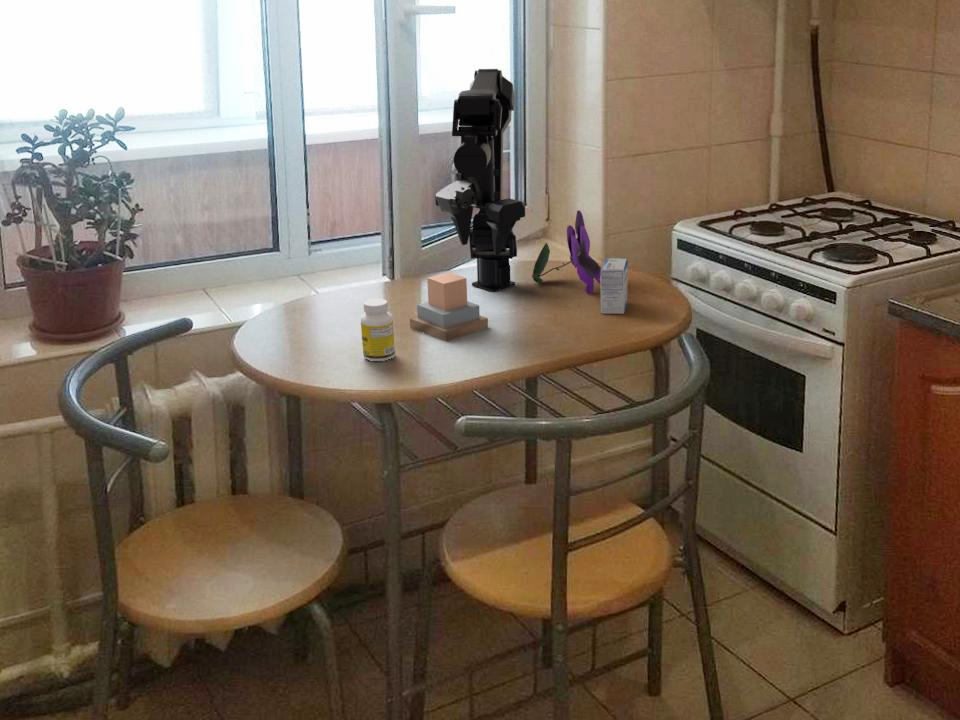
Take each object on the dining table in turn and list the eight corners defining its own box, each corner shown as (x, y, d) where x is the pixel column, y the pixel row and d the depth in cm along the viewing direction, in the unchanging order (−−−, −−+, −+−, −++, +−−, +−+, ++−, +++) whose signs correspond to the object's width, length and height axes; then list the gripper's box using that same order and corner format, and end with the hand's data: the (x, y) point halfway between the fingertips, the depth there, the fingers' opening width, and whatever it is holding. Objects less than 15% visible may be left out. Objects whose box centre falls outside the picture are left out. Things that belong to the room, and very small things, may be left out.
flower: (539, 319, 221) (598, 293, 215) (504, 253, 218) (563, 224, 213) (557, 297, 234) (614, 272, 228) (524, 234, 231) (581, 207, 226)
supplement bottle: (363, 352, 192) (359, 297, 188) (395, 350, 192) (391, 296, 188) (363, 363, 186) (359, 307, 183) (395, 361, 187) (392, 306, 183)
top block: (417, 317, 203) (417, 304, 202) (453, 308, 207) (452, 295, 206) (443, 328, 197) (443, 315, 196) (479, 318, 201) (479, 305, 200)
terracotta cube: (428, 304, 202) (427, 277, 200) (450, 298, 204) (449, 272, 203) (444, 310, 198) (443, 283, 196) (467, 304, 201) (466, 278, 199)
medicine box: (624, 315, 206) (625, 269, 203) (600, 314, 207) (600, 269, 204) (627, 302, 214) (628, 258, 211) (604, 301, 215) (604, 257, 211)
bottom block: (410, 331, 203) (409, 318, 202) (452, 318, 209) (451, 306, 208) (445, 344, 196) (445, 331, 195) (488, 331, 202) (487, 318, 201)
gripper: (410, 164, 200) (414, 248, 206) (478, 180, 187) (480, 269, 193) (457, 154, 207) (460, 236, 212) (526, 169, 193) (528, 256, 199)
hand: (480, 249), depth 204 cm, fingers open, 9 cm apart
